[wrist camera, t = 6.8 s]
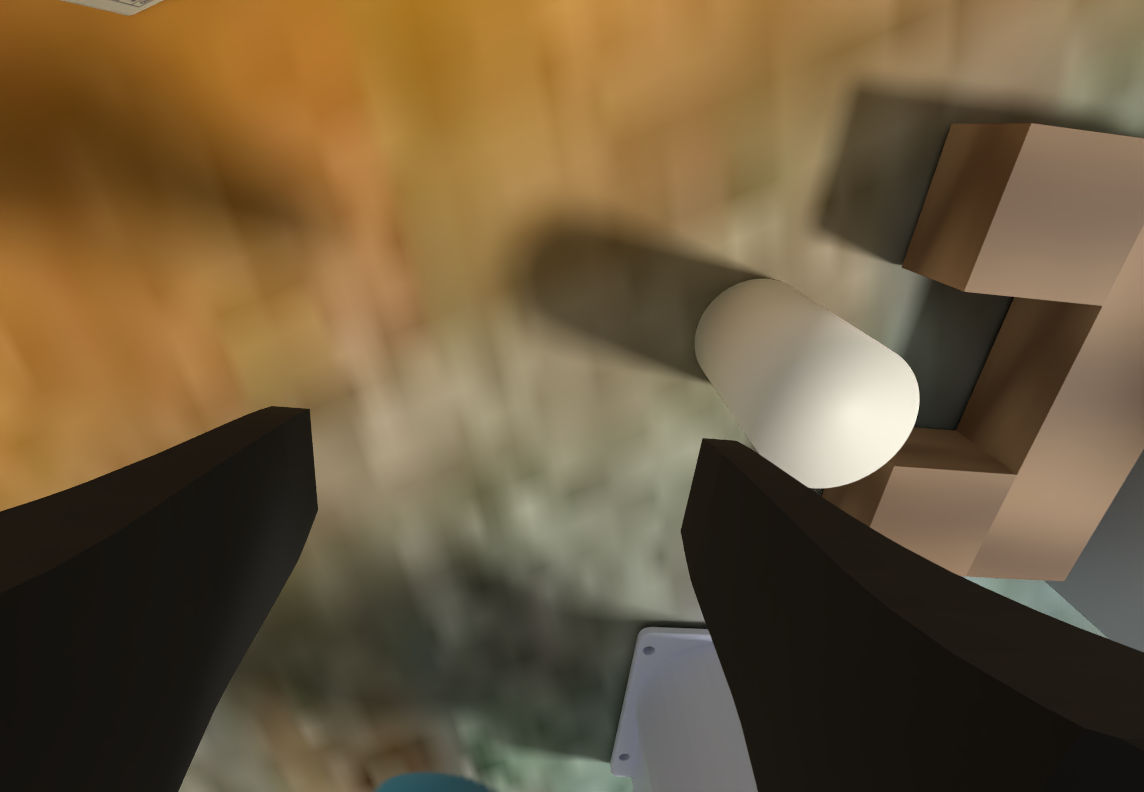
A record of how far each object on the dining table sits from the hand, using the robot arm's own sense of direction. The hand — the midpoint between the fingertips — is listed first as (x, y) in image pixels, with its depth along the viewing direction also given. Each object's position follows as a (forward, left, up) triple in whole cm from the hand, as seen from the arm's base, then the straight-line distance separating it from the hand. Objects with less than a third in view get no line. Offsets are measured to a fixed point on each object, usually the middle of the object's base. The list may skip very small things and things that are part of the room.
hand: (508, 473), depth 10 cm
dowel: (0, -8, -9) cm, 12 cm away
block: (0, -16, -9) cm, 19 cm away
